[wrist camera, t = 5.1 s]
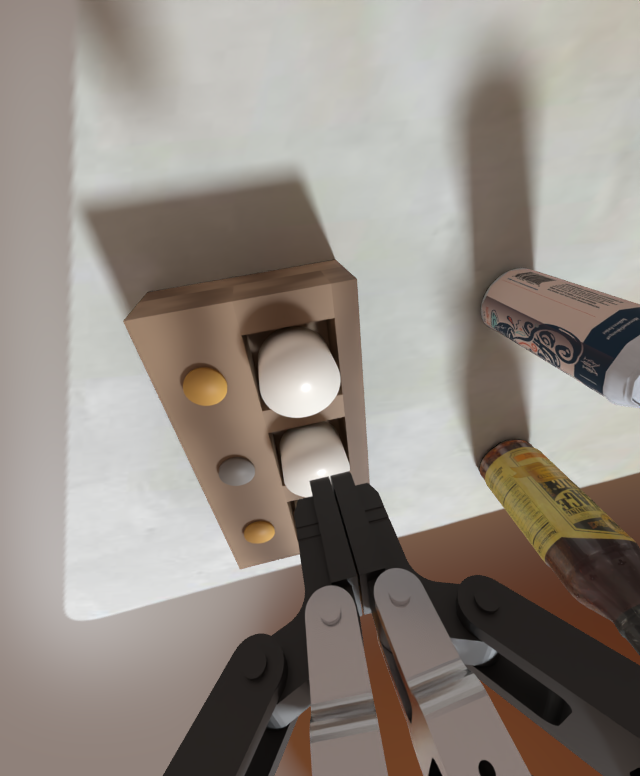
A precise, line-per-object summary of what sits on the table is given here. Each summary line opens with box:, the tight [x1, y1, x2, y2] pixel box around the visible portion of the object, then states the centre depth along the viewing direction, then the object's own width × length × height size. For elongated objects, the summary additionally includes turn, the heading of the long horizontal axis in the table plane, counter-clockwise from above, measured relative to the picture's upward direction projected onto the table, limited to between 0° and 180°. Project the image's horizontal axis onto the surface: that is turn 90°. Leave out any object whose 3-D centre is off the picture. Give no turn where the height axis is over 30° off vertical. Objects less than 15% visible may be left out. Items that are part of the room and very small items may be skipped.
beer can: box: [481, 268, 640, 408], centre depth 21 cm, size 5×5×12 cm
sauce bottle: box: [479, 440, 640, 655], centre depth 28 cm, size 7×6×20 cm
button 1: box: [258, 326, 340, 418], centre depth 19 cm, size 4×4×3 cm
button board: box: [123, 260, 370, 569], centre depth 25 cm, size 12×23×5 cm, turn 7°
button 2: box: [280, 421, 350, 497], centre depth 23 cm, size 4×4×3 cm
